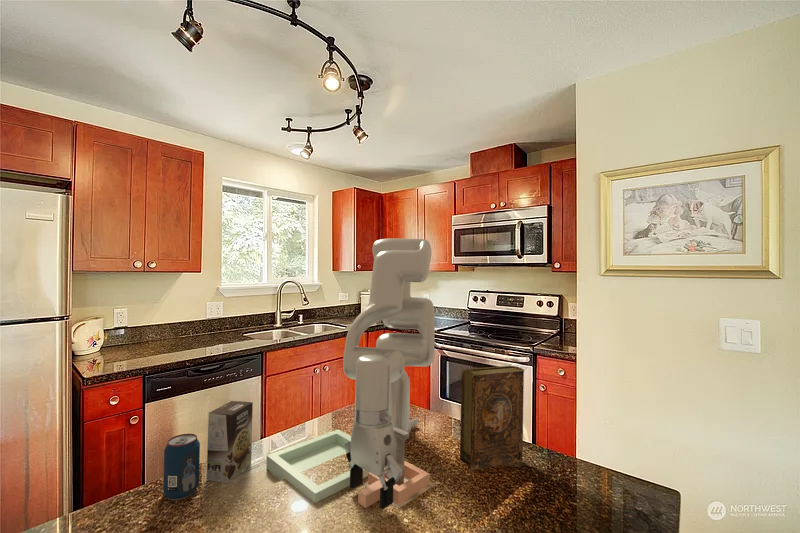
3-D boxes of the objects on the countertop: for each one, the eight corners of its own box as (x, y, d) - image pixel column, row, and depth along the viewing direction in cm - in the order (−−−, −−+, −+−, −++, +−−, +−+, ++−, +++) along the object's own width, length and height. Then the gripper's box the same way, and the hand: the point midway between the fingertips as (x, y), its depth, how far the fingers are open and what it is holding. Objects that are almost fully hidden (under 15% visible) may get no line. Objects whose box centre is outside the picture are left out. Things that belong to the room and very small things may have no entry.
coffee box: (229, 484, 86) (231, 415, 87) (205, 480, 88) (206, 412, 88) (252, 464, 95) (253, 401, 95) (230, 461, 97) (231, 399, 97)
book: (512, 456, 102) (514, 365, 102) (525, 466, 97) (527, 370, 97) (459, 465, 97) (461, 369, 97) (470, 476, 91) (471, 375, 92)
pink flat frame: (398, 467, 92) (398, 457, 92) (429, 484, 85) (429, 473, 85) (347, 495, 81) (347, 483, 81) (378, 517, 74) (378, 504, 74)
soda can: (176, 483, 87) (177, 431, 87) (205, 484, 86) (206, 432, 86) (155, 501, 80) (156, 445, 80) (187, 502, 79) (188, 446, 79)
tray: (337, 441, 109) (338, 429, 109) (389, 470, 93) (390, 456, 93) (266, 469, 93) (266, 455, 93) (314, 510, 78) (315, 493, 78)
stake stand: (398, 470, 93) (399, 416, 94) (435, 491, 85) (436, 431, 85) (361, 490, 85) (362, 430, 85) (399, 515, 77) (400, 449, 77)
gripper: (414, 421, 76) (412, 506, 75) (360, 400, 88) (358, 473, 87) (387, 432, 70) (385, 523, 70) (333, 407, 82) (332, 485, 82)
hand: (370, 495), depth 79 cm, fingers open, 9 cm apart
